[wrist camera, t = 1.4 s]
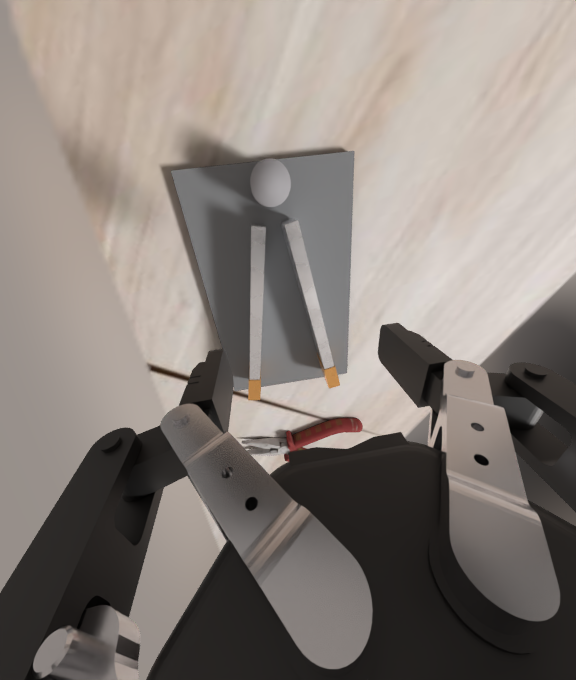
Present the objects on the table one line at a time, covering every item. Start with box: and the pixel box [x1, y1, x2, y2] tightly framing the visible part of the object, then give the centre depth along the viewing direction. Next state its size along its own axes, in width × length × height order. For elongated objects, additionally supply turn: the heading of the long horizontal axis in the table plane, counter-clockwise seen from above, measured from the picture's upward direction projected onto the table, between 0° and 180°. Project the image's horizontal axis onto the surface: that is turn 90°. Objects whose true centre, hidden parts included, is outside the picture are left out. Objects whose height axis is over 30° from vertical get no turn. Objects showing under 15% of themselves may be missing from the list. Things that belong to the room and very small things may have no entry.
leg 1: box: [248, 223, 266, 400], centre depth 25 cm, size 19×1×4 cm, turn 175°
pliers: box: [242, 418, 363, 462], centre depth 40 cm, size 12×20×3 cm, turn 85°
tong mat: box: [171, 151, 354, 391], centre depth 25 cm, size 25×16×6 cm, turn 6°
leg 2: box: [281, 219, 340, 388], centre depth 26 cm, size 19×1×4 cm, turn 17°
